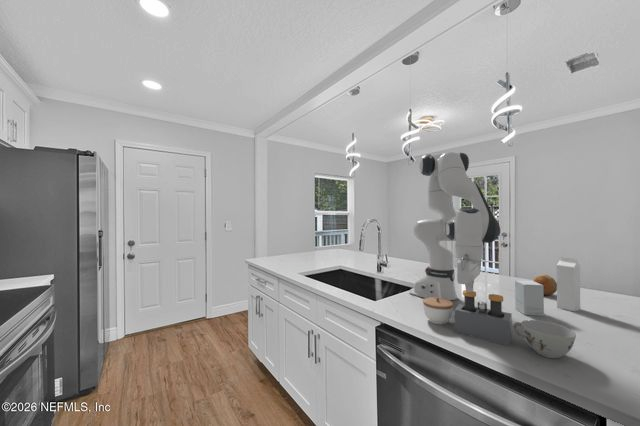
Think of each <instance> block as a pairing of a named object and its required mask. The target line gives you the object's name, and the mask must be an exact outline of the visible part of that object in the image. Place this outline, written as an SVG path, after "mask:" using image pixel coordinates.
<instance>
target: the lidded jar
mask: <svg viewBox="0 0 640 426" xmlns="http://www.w3.org/2000/svg"><path fill="white" fill-rule="evenodd" d="M422 302H423V311H424V315H425V317H426V318H427V320H429V322H430V323H431V324H432V323H433V324H435V325H439V326H440V325H441V326H442V325H446V324H447V323H448V322H449V321H450V319H451V318H452V316H453V312H454V311H453V309H454V308H453V307H454V304H453V302H452V300H446V299H443V298H439V297H436V298H434V297H432V298H423V300H422Z"/></svg>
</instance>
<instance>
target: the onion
mask: <svg viewBox="0 0 640 426" xmlns="http://www.w3.org/2000/svg"><path fill="white" fill-rule="evenodd" d="M532 281H534V282H537V283H539V284H541V285H543V294H544V296H551V295H554V294H555V293H557V281H556V280H555V279H554V278H553V277H551V276H550V275H548V274H540V275H538V276H536V277H535V278H534V279H532Z"/></svg>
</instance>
